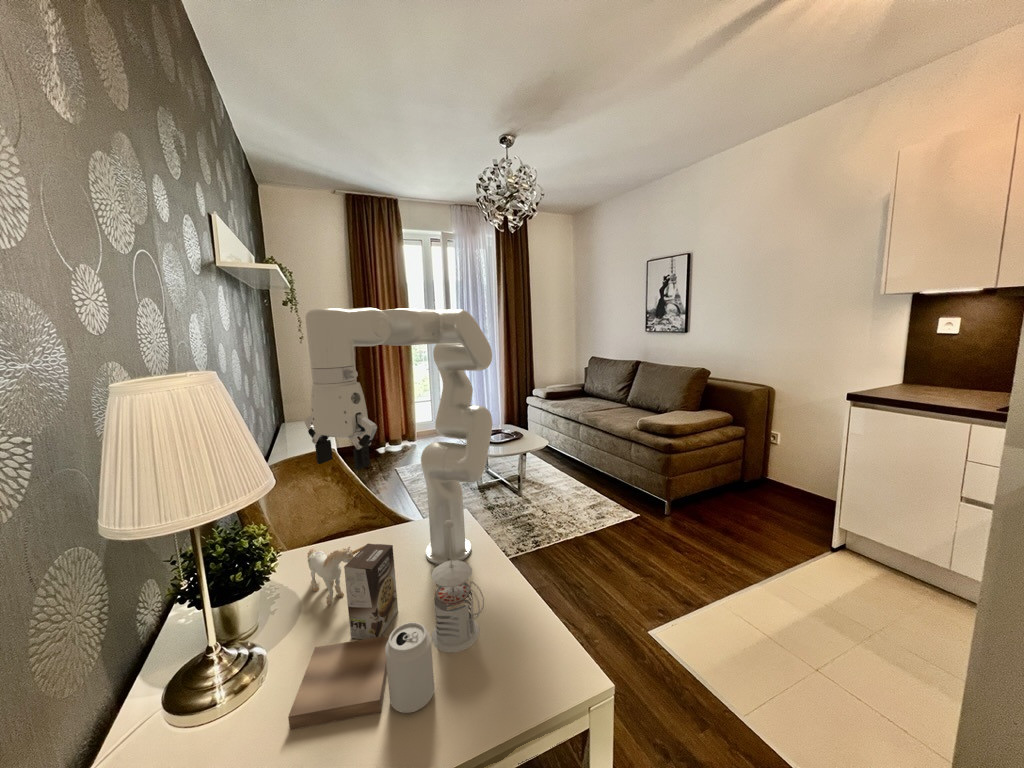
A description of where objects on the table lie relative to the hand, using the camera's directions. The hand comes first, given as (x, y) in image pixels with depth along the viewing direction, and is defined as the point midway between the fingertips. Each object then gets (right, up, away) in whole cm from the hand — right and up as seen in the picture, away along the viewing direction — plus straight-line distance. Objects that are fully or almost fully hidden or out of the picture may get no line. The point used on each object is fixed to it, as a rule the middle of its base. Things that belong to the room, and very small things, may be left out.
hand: (343, 464), depth 77 cm
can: (+15, -39, -8) cm, 42 cm away
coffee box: (+3, -36, +9) cm, 38 cm away
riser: (+3, -38, -5) cm, 39 cm away
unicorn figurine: (-9, -35, +21) cm, 42 cm away
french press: (+22, -36, +6) cm, 43 cm away
